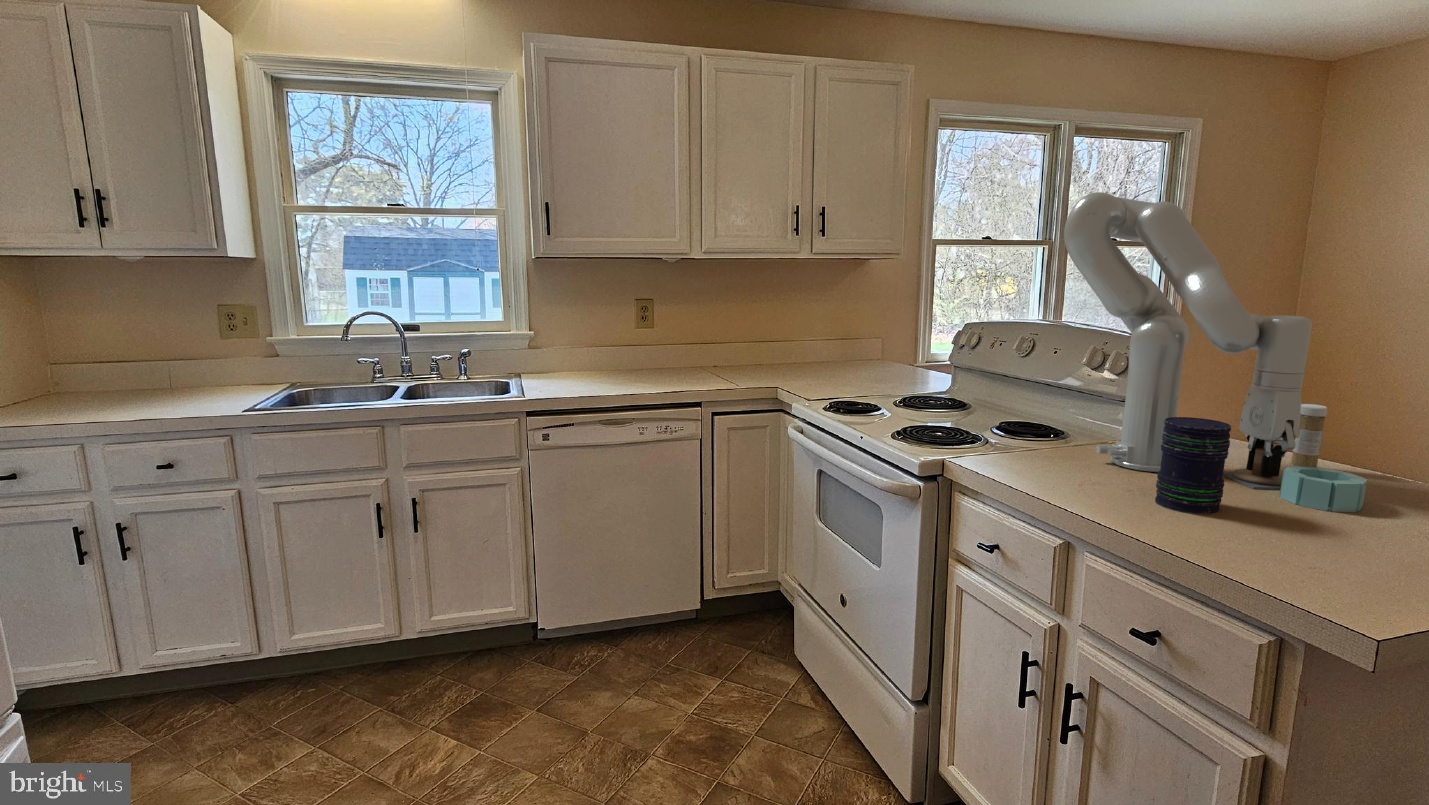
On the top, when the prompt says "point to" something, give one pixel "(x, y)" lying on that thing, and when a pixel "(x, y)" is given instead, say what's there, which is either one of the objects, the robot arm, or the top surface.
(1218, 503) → the storage jar
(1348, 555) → the top surface
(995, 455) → the top surface
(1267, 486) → the mat
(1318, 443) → the sprinkles bottle
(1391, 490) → the top surface
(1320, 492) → the bowl
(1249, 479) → the lid
